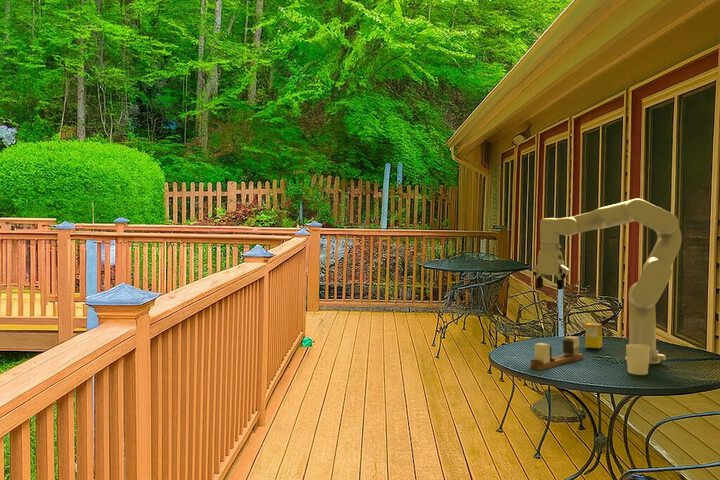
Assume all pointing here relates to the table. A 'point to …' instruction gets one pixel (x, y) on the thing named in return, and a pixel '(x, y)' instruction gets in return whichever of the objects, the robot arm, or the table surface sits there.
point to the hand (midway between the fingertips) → (550, 288)
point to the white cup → (637, 358)
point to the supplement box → (593, 336)
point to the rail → (570, 355)
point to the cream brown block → (543, 352)
